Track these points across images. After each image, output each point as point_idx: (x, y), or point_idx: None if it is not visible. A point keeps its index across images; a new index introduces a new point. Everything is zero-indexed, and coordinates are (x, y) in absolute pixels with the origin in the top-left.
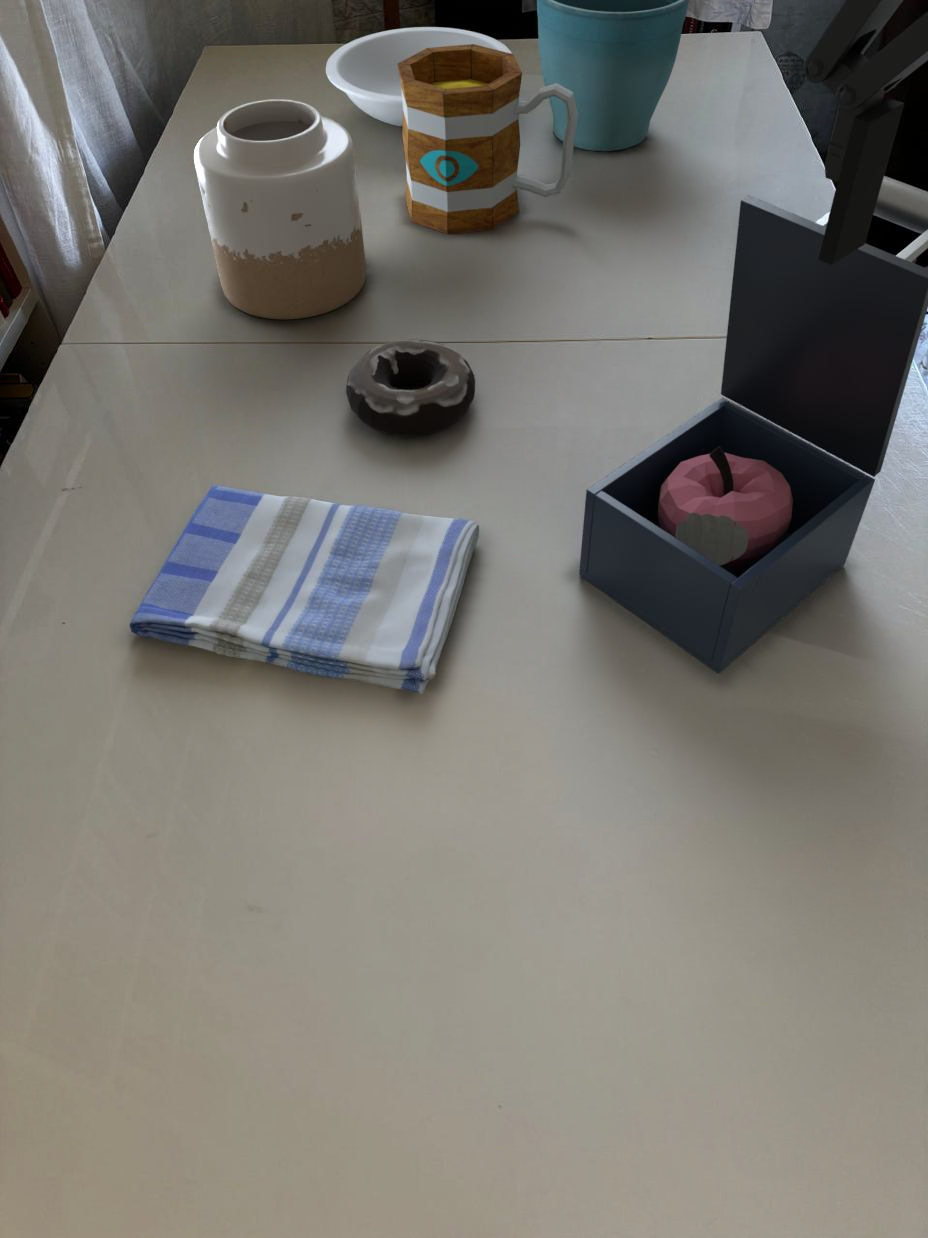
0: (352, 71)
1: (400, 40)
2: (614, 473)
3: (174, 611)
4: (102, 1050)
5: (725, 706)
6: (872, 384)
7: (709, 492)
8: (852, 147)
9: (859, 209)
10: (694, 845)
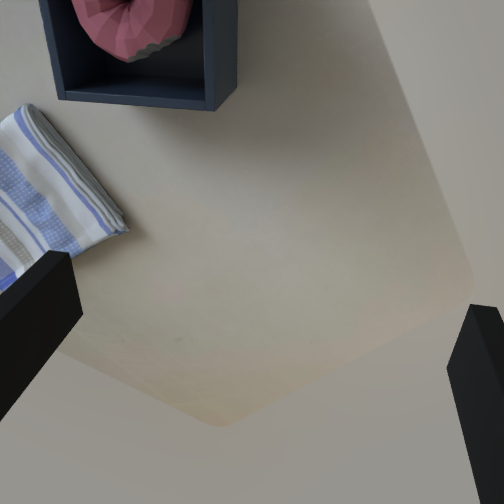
0: None
1: None
2: (53, 65)
3: (7, 275)
4: (190, 393)
5: (257, 109)
6: None
7: (116, 12)
8: None
9: (40, 330)
10: (303, 206)
